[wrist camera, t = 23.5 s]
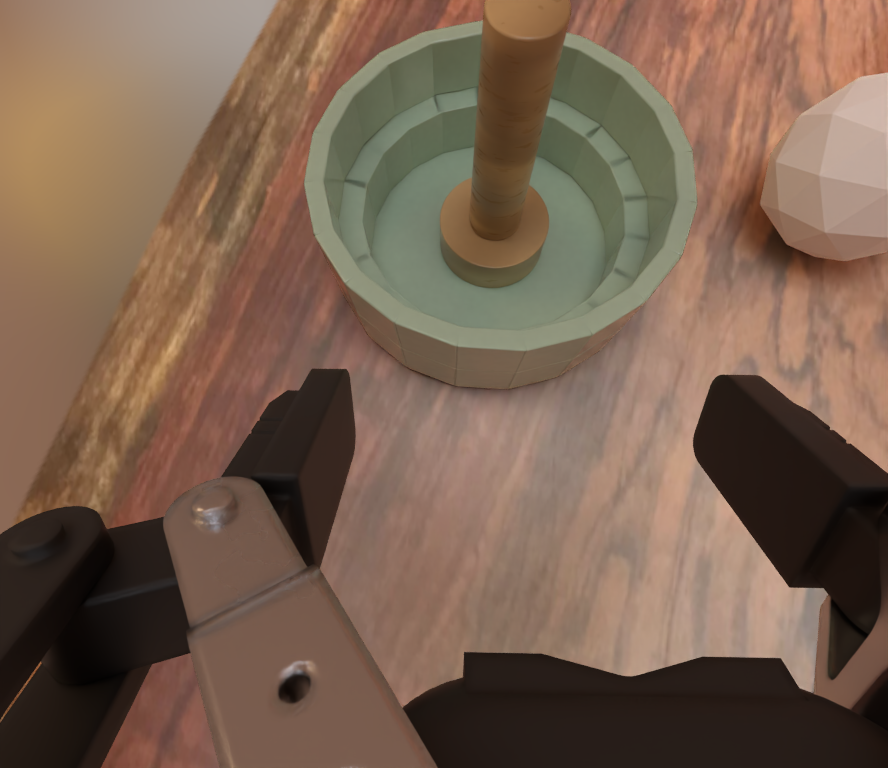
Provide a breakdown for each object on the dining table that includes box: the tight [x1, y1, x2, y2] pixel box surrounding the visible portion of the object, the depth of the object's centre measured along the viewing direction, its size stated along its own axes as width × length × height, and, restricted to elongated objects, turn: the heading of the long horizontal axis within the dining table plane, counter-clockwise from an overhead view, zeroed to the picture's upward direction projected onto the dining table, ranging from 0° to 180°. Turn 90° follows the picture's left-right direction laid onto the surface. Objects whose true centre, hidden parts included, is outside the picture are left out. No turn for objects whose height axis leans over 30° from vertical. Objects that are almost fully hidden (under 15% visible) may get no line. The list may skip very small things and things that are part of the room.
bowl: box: [304, 21, 697, 389], centre depth 21 cm, size 16×16×6 cm
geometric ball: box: [760, 73, 888, 261], centre depth 21 cm, size 8×8×8 cm
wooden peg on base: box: [440, 0, 571, 288], centre depth 18 cm, size 5×5×12 cm
